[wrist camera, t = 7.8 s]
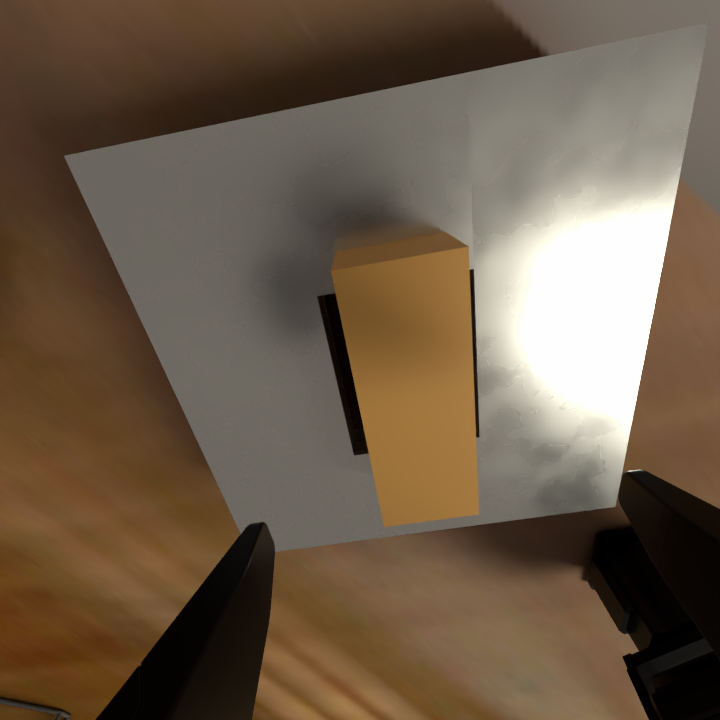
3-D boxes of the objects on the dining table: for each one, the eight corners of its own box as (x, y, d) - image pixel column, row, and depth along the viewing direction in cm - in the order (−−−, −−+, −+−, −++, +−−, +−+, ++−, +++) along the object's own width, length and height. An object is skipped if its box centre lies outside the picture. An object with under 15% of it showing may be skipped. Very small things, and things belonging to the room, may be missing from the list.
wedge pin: (425, 219, 17) (468, 246, 11) (442, 416, 22) (479, 514, 15) (338, 235, 17) (330, 271, 11) (375, 426, 22) (384, 527, 16)
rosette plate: (604, 66, 15) (709, 22, 11) (566, 445, 24) (615, 506, 20) (142, 160, 16) (64, 155, 12) (268, 487, 25) (250, 554, 21)
